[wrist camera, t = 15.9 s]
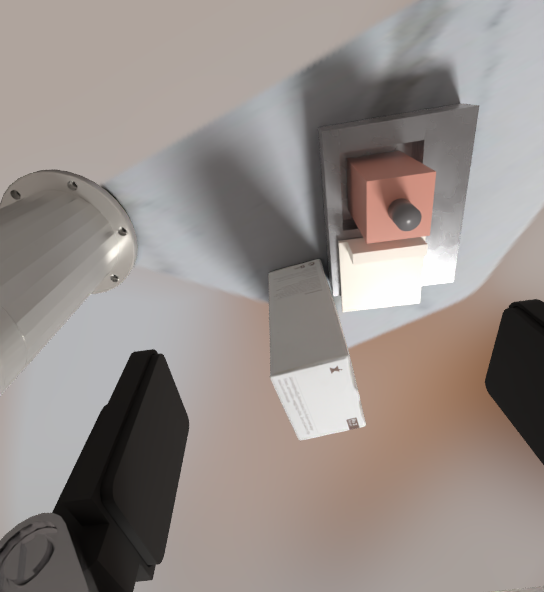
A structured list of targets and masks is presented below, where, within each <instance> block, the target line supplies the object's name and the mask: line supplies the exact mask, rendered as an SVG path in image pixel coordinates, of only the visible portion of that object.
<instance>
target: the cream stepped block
mask: <svg viewBox="0 0 544 592" xmlns="http://www.w3.org/2000/svg"><path fill="white" fill-rule="evenodd" d="M425 239H426V236H423V237H415V238H407V239H400V240H392V241H384V242H376V243H369V244H367V243H366V242H365V240H364V238H356V239H349V240H342V241H338V248H339V266H340V284H341V302H342V311H343V312H348V311H357V310H365V309H374V308H382V307H391V306H400V305H408V304H417V303H420V295H421V284H422V273H423V261H424V256H426V255H427V249H428V244H427V243H426V242H425Z"/></svg>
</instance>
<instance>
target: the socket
mask: <svg viewBox="0 0 544 592" xmlns="http://www.w3.org/2000/svg"><path fill="white" fill-rule="evenodd" d="M478 111H479V106H478V105H470V104H461V103H460V104H454V105H448V106H442V107H436V108H430V109H424V110H418V111H412V112H407V113H401V114H395V115H389V116H383V117H377V118H371V119H365V120H359V121H353V122H347V123H341V124H335V125H329V126H323V127H318V134H319V148H320V161H321V174H322V187H323V201H324V214H325V227H326V241H327V254H328V267H329V281H330V285H331V289H332V293H333V296H341V284H340V266H339V248H338V241H342V240H349V239H356V238H363V236H362V234H361V232H360V231H359V229H358V227H357V225H356V223H355V221H354V220H353V218H352V216H351V214H350V212H349V210H348V196H347V165H346V159H348V158H355V157H361V156H368V155H374V154H381V153H387V152H394V151H401V152H403V153H405V154H406V155H408V156H410V157H412V158H413V159H415V160H417V161H419V162H420V163H422V164H424V165H426V166H427V167H429V168H431V169H433V170H435V171H436V179H435V189H434V199H433V209H432V219H431V229H430V236H426V239H425V242H426V243H427V244H428V249H427V255H426V256H424V261H423V273H422V284H421V286H424V285H432V284H440V283H448V282H454V276H455V269H456V262H457V255H458V248H459V241H460V234H461V227H462V221H463V214H464V207H465V200H466V193H467V186H468V179H469V172H470V166H471V159H472V152H473V145H474V138H475V131H476V124H477V117H478Z"/></svg>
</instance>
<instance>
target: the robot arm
mask: <svg viewBox="0 0 544 592" xmlns="http://www.w3.org/2000/svg"><path fill="white" fill-rule="evenodd" d="M75 183H76V184H77V185H76V184H75ZM124 228H125V229H126V230H124ZM137 251H138V245H137V237H136V233H135V230H134V227H133V224H132V222H131V221H130V219H129V217H128V215H127V213H126V212H125V210H124V209H123V208H122V207H121V205H120V204H119V203H118V201H117V200H116V199H115V198H113V197H112V196H111V195H110V194H109V193H108V192H107V191H106V190H104V189H103V188H102V187H100V186H99V185H97V184H96V183H95V182H93V181H90V180H89V179H87V178H85V177H83V176H80V175H77V174H74V173H71V172H67V171H60V170H41V171H37V172H34V173H30V174H28V175H25V176H23V177H21V178H19V179H17V180H16V181H15V182H14V183H12V184H11V185H10V186H9V187H8V189H7V190H6V192H5V193H4V195H3V198H2V201H1V203H0V396H1V395H2V393H4V391H5V390H6V389H7V388H8V387H9V386H10V385H11V384H12V382H13V381H14V380H15V379H16V378H17V377H18V375H19V374H20V373H21V372H22V371H23V370H24V369H25V368H26V367H27V366H28V365H29V363H30V362H31V361H32V360H33V359H34V358H35V357H36V355H37V354H38V353H39V352H40V351H41V350H42V349H43V348H44V347H45V345H46V344H47V343H48V342H49V341H50V340H51V338H52V337H53V336H54V335H55V334H56V333H57V332H58V331H59V329H60V328H61V327H62V326H63V325H64V324H65V323H66V322H67V320H68V319H69V318H70V317H71V316H72V315H73V314H74V312H75V311H76V310H77V309H78V308H79V307H80V306H81V305H82V303H83V302H84V301H85V300H86V299H87V298H88V297H89V295H90V294H97V293H102V292H106V291H109V290H111V289H113V288H115V287H117V286H118V285H119V284H121V283H122V282H123V281H124V280H125V279H126V278H127V276H128V275H129V274H130V272H131V271H132V269H133V267H134V265H135V262H136V259H137ZM485 385H486V388H487V391H488V393H489V394H490V395H491V397H492V398H493V399H494V401H495V402H496V403H497V405H498V406H499V407H500V408H501V410H502V411H503V412H504V414H505V415H506V416H507V418H508V419H509V420H510V421H511V423H512V424H513V426H514V427H515V428H516V429H517V431H518V432H519V433H520V435H521V436H522V437H523V438H524V440H525V441H526V443H527V444H528V445H529V446H530V448H531V449H532V450H533V452H534V453H535V454H536V456H537V457H538V458H539V459H540V461H541V462H542V463H543V465H544V302H542V301H540V300H537V299H534V300H526V301H519V302H513V303H511V305H509V308H508V309H505V310H504V312H503V315H502V319H501V322H500V326H499V330H498V334H497V337H496V341H495V345H494V349H493V352H492V356H491V360H490V364H489V368H488V371H487V375H486V379H485ZM188 431H189V419H188V416H187V413H186V410H185V408H184V406H183V403H182V400H181V398H180V395H179V393H178V390H177V387H176V385H175V382H174V380H173V377H172V375H171V372H170V369H169V367H168V364H167V362H166V359H165V357H164V355H163V354H158V353H157V351H156V350H153V349H152V350H145V351H138V352H133V353H132V354H131V356H130V358H129V360H128V362H127V364H126V366H125V368H124V370H123V373H122V375H121V377H120V379H119V381H118V383H117V385H116V387H115V390H114V392H113V394H112V396H111V398H110V400H109V403H108V404H107V405H106V406H104V407H103V409H102V411H101V412H100V414H99V416H98V419H97V421H96V423H95V425H94V427H93V429H92V431H91V433H90V435H89V437H88V439H87V441H86V444H85V445H84V448H83V450H82V452H81V454H80V456H79V458H78V460H77V462H76V464H75V466H74V468H73V470H72V473H71V475H70V477H69V479H68V481H67V483H66V485H65V487H64V489H63V491H62V493H61V495H60V497H59V500H58V502H57V504H56V506H55V508H54V510H53V512H52V513H41V514H38V515H35V516H32V517H30V518H28V519H26V520H25V521H23V522H21V523H19V524H18V525H17V526H15V527H14V528H13V529H12V530H11V531H9V532H8V533H7V534H6V535H5V536H4V537H3V538H2V539H1V540H0V592H133V589H134V586H135V582H138V581H147V580H152V579H153V575H154V570H155V565H156V564H160V563H161V562H162V560H163V557H164V553H165V548H166V543H167V538H168V533H169V528H170V523H171V518H172V513H173V507H174V502H175V497H176V492H177V487H178V482H179V477H180V472H181V467H182V462H183V456H184V451H185V446H186V441H187V436H188ZM493 592H544V586H543V587H533V588H522V589H512V590H503V591H493Z"/></svg>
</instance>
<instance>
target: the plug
mask: <svg viewBox="0 0 544 592" xmlns="http://www.w3.org/2000/svg"><path fill="white" fill-rule="evenodd" d="M346 165H347V196H348V210H349V212H350V214H351V216H352V218H353V220H354V221H355V223H356V225H357V227H358V229H359V231H360V232H361V234H362V236H363V238H364V240H365V242H366V243H367V244H369V243H376V242H384V241H392V240H400V239H407V238H415V237H423V236H430V229H431V219H432V209H433V199H434V189H435V179H436V171H435V170H433V169H431V168H429V167H427V166H426V165H424V164H422V163H420V162H419V161H417V160H415V159H413V158H412V157H410V156H408V155H406V154H405V153H403V152H401V151H394V152H387V153H381V154H374V155H368V156H361V157H355V158H348V159H346Z"/></svg>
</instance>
